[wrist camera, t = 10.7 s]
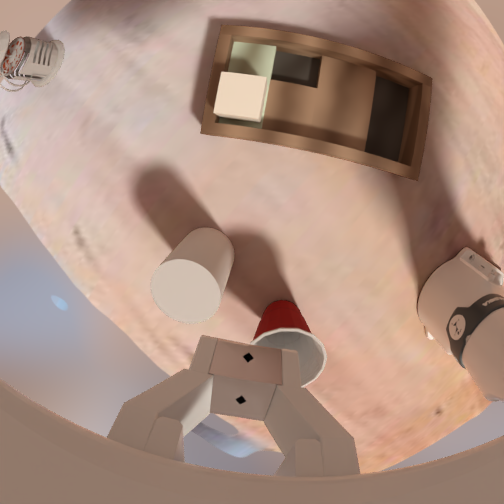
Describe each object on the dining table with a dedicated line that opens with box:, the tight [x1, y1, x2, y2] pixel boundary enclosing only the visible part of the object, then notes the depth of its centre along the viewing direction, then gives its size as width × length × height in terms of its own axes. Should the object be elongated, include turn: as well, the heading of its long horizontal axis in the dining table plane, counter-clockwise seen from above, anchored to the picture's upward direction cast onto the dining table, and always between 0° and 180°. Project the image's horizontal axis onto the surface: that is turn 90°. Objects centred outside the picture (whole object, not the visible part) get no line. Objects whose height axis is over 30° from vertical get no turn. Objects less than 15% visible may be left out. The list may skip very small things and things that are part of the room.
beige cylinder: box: [151, 227, 235, 324], centre depth 36 cm, size 8×8×12 cm
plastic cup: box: [250, 300, 327, 388], centre depth 38 cm, size 11×11×12 cm
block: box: [213, 72, 267, 123], centre depth 29 cm, size 5×5×5 cm
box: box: [200, 25, 432, 181], centre depth 30 cm, size 28×15×4 cm, turn 81°
